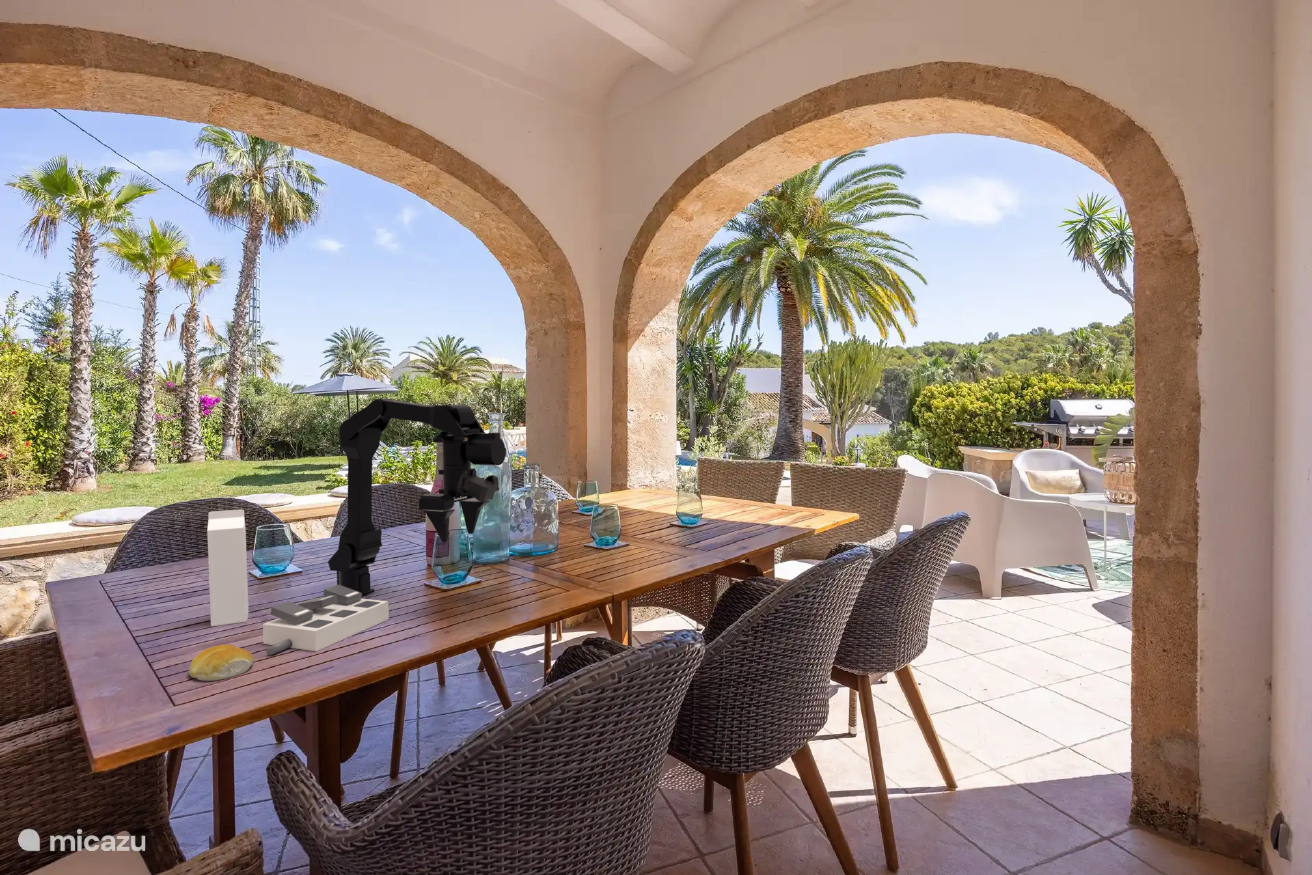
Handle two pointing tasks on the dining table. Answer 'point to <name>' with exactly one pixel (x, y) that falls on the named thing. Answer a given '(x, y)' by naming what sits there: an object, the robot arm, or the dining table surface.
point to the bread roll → (220, 663)
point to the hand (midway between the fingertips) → (458, 537)
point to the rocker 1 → (291, 612)
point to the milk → (227, 567)
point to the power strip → (325, 626)
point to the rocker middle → (319, 602)
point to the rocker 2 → (343, 594)
